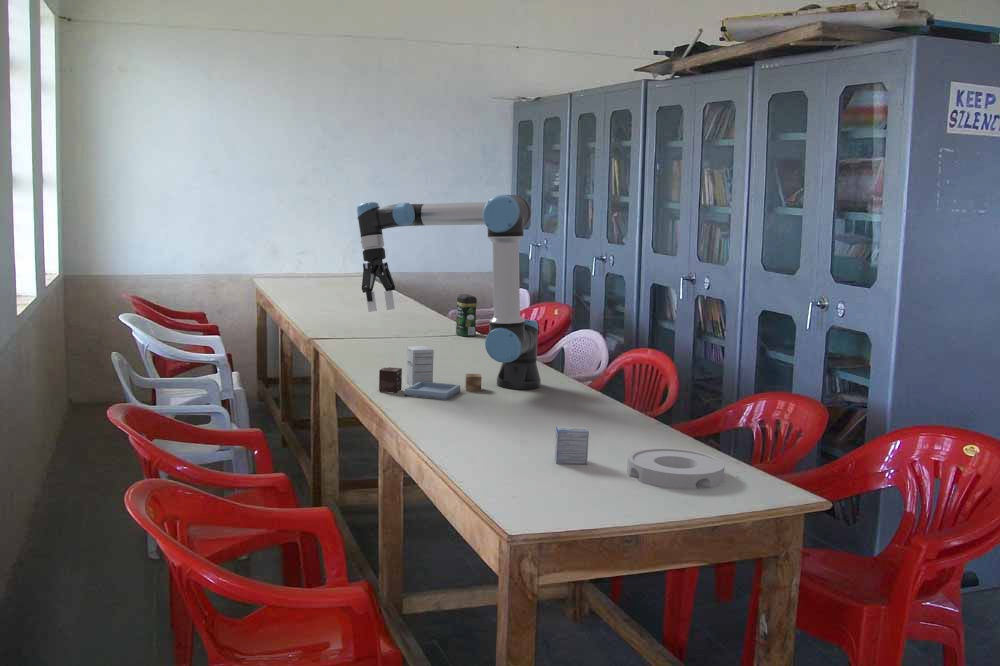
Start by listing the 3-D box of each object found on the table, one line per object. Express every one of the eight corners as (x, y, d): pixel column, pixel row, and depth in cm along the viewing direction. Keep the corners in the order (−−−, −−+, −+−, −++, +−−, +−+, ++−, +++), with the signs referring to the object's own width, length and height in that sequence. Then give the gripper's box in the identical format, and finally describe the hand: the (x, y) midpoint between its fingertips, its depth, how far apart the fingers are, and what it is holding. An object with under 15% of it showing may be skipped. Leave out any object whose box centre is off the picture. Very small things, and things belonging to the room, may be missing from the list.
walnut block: (480, 388, 333) (480, 374, 332) (481, 391, 328) (481, 376, 327) (465, 388, 332) (465, 373, 331) (466, 391, 327) (466, 376, 326)
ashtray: (715, 496, 225) (716, 479, 225) (616, 482, 234) (617, 465, 233) (730, 471, 247) (731, 455, 246) (639, 458, 255) (640, 443, 254)
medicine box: (585, 460, 250) (587, 426, 249) (587, 465, 246) (589, 431, 244) (554, 459, 250) (555, 425, 248) (555, 464, 245) (557, 430, 244)
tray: (460, 391, 326) (460, 385, 326) (446, 400, 312) (446, 393, 312) (419, 387, 329) (420, 381, 329) (404, 395, 316) (405, 389, 316)
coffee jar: (453, 334, 449) (454, 293, 446) (469, 333, 453) (470, 293, 450) (462, 337, 441) (463, 295, 438) (478, 336, 444) (479, 295, 441)
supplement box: (406, 382, 337) (406, 346, 335) (426, 382, 339) (427, 345, 338) (411, 387, 330) (412, 349, 328) (433, 386, 333) (434, 349, 331)
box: (396, 393, 319) (396, 371, 318) (378, 392, 320) (378, 369, 319) (401, 390, 325) (402, 368, 324) (384, 388, 326) (384, 366, 325)
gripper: (380, 250, 349) (388, 310, 350) (345, 249, 326) (354, 313, 327) (399, 247, 347) (407, 307, 347) (365, 246, 324) (374, 310, 324)
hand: (381, 310), depth 337 cm, fingers open, 13 cm apart
